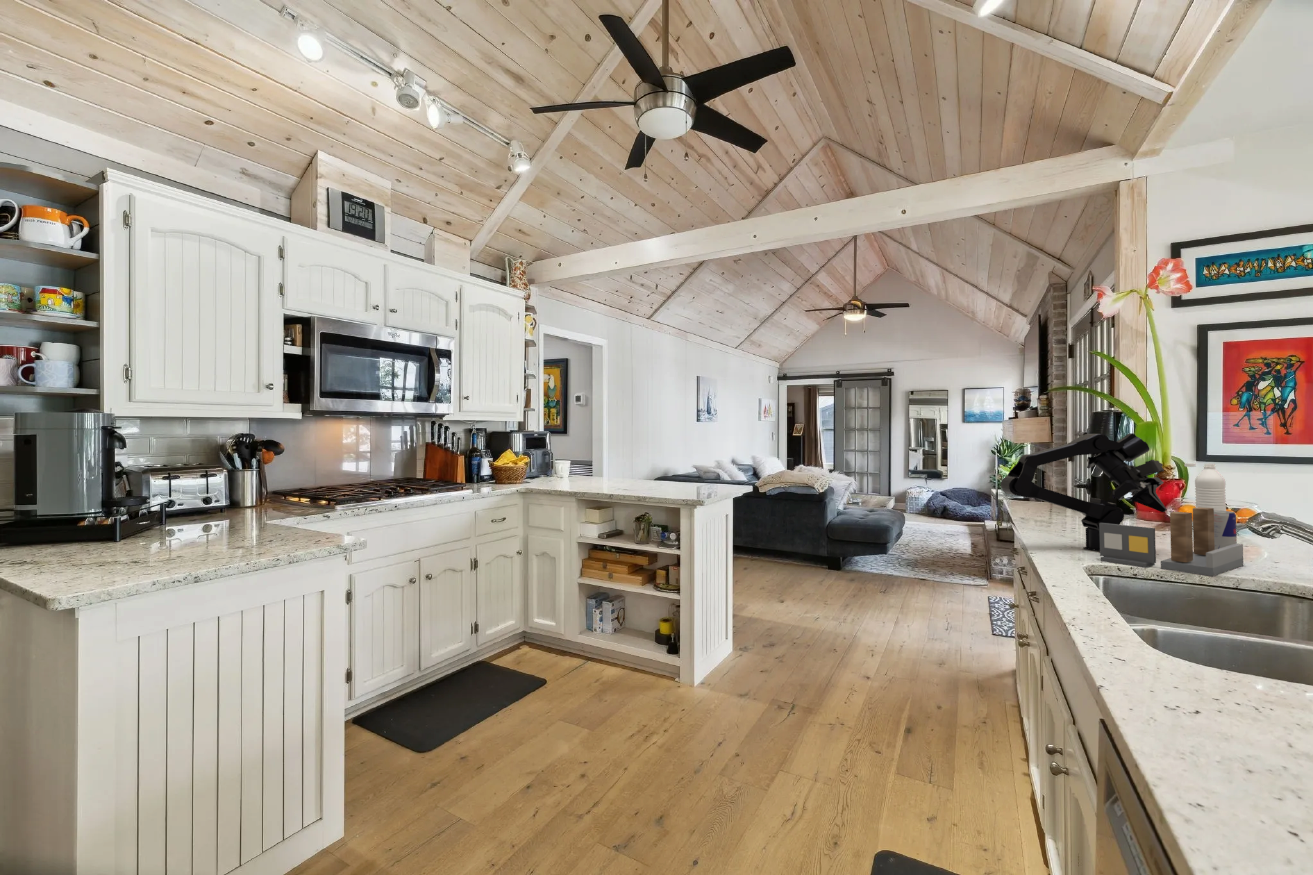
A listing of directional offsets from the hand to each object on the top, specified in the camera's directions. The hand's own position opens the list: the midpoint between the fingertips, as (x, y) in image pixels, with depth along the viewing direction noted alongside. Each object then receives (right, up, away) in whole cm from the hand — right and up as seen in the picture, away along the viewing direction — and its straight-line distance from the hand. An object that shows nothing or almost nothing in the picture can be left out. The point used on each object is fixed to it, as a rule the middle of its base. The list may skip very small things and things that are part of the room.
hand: (1164, 511), depth 160 cm
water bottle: (+22, -12, +11) cm, 27 cm away
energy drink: (+18, -12, +1) cm, 22 cm away
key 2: (+4, -10, -7) cm, 13 cm away
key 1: (-8, -11, -14) cm, 19 cm away
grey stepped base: (-1, -13, -12) cm, 18 cm away
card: (-15, -13, -6) cm, 21 cm away
